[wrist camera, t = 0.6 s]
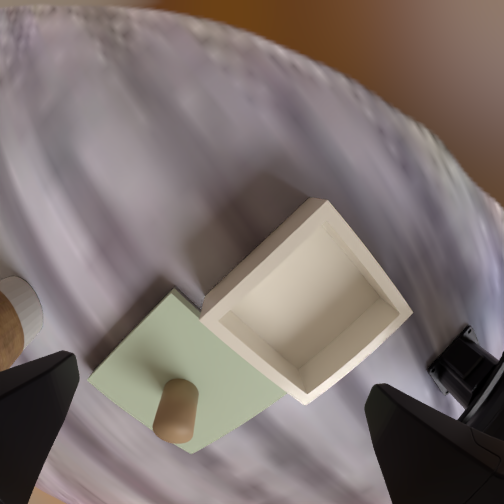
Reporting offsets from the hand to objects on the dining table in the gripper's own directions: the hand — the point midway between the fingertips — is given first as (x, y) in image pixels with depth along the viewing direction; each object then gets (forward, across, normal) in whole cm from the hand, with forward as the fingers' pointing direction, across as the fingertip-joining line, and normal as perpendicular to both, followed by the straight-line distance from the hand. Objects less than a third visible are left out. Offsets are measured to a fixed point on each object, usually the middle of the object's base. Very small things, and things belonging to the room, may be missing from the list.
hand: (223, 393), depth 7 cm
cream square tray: (+13, -6, +2) cm, 14 cm away
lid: (+13, +3, +10) cm, 17 cm away
